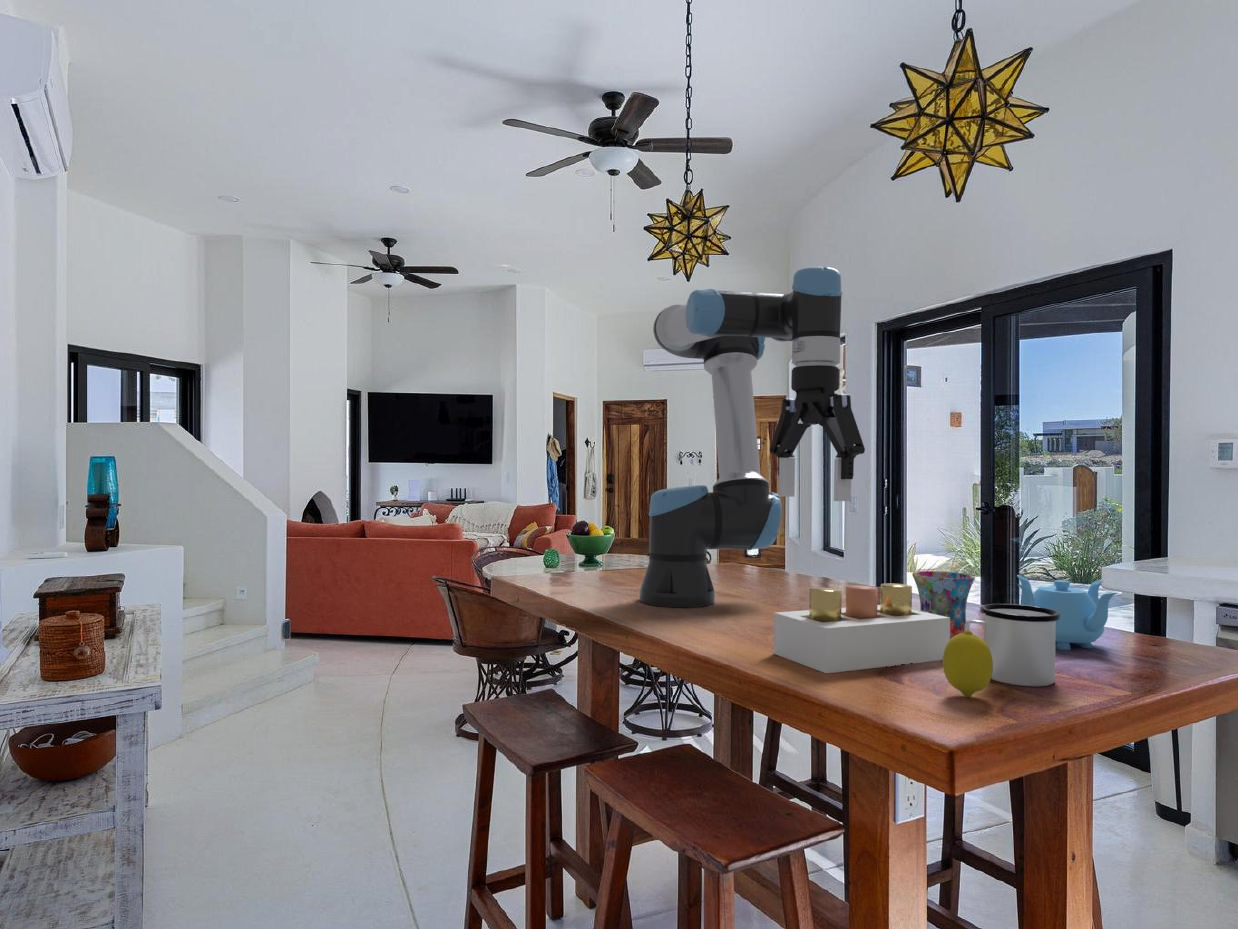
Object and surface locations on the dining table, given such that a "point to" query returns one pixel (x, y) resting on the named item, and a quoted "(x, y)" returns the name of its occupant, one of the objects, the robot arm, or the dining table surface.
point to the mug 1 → (945, 596)
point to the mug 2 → (1020, 643)
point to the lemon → (967, 663)
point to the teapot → (1071, 610)
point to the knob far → (896, 599)
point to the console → (860, 640)
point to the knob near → (825, 604)
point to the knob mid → (861, 602)
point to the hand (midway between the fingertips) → (813, 498)
